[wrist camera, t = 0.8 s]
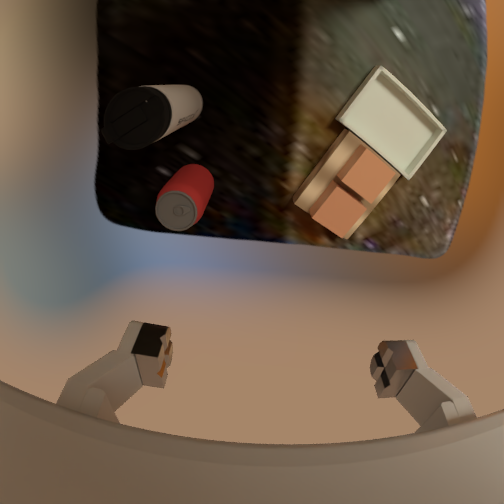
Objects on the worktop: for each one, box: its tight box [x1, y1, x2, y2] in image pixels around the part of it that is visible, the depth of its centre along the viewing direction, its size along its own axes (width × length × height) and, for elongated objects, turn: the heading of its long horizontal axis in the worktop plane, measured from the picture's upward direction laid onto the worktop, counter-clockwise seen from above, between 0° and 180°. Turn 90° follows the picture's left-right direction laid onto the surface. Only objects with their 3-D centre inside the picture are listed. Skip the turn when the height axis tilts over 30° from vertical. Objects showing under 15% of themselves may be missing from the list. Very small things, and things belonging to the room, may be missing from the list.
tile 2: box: [337, 144, 396, 204], centre depth 42 cm, size 6×6×3 cm
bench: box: [293, 128, 400, 239], centre depth 46 cm, size 14×11×3 cm
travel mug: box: [101, 85, 203, 150], centre depth 33 cm, size 6×7×20 cm
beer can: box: [155, 164, 214, 231], centre depth 43 cm, size 7×7×12 cm
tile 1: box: [309, 180, 367, 238], centre depth 45 cm, size 6×6×3 cm
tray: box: [335, 65, 447, 180], centre depth 40 cm, size 11×15×2 cm
